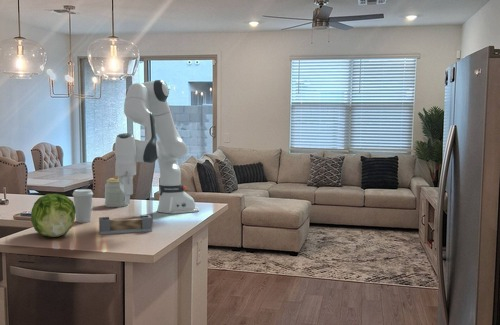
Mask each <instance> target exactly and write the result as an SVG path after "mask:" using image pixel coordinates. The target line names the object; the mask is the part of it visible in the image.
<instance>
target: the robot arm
mask: <svg viewBox="0 0 500 325" xmlns="http://www.w3.org/2000/svg"><path fill="white" fill-rule="evenodd" d="M169 94H170V90H169V86H168V85H167V83H166V81H164V80H163V79H155V80H151V81H146V82H142V83H140V82H138V83H137V82H136V83H132V84H131V85H129V87H128V88H127V90H126V91H125V98H124V103H123V105H124V106H123V113H124V115H125V117H126V118H127V119H128V120H130V121H131V122H133V123H135V124H139V125H141V126H142V127H143V126H144V127H145V128H146V133H147V134H146V135H147V138H146V139H145V140H136V139H135V134H133V133H130V132H129V133H128V132H127V133H126V132H125V133H124V132H123V133H120V134H117V135H116V138H115V145H114V154H115V164H114V166H115V168H114V169H115V173H114V175H117V176H118V179H119V187H120V189H121V191H122V194H123V201H125V204H128V205H130V203H131V202H130V201H131V196H133V194H134V181H133V179H134V176H136V175H137V163H147V164H153V163H154V162H156V161H158V167H159V185H158V186H159V187H158V194H159V200H158V205H157V210H156V212H159V213H167V214H174V215H175V214H184V213H196V212H200V208H199V207H198V206H196V203H195V200H194V198H193V197H192V196H191V195H190V194H189V193H187V192H185V191H186V190H187V188H188V187H187V186H186V185H183V184H182V182H181V181H182V171H181V167H180V166H179V162H178V160H182V159H183V158H184V157H185V156H186V155H187V153H188V146H187V144H186V143H185V142H184V140H183V138H182V137H181V135H180V132H178V129H177V127H176V124H175V122H174V119H173V114H172V111H171V109H170V107H171V106H170V105H169V103H168V97H169ZM157 136H158V138H159V140H157V139H158V138H157Z"/></svg>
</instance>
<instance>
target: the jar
mask: <svg viewBox="0 0 500 325" xmlns="http://www.w3.org/2000/svg"><path fill="white" fill-rule="evenodd" d="M105 182H106V183H105V184H104V188H105V190H104V206H105V207H108V208H120V207H121V208H122V207H123V208H124V207H127V206H128V205H129V204H125V201H123V194H122V191H121V189H120V187H119V179H118V176H117V175H115V174H114V176H113V177H111V178H108V179H107V180H106V181H105Z"/></svg>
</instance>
